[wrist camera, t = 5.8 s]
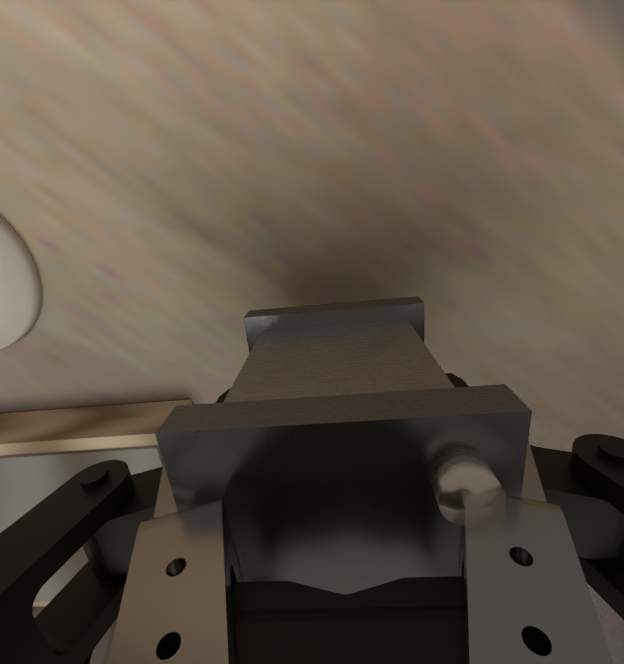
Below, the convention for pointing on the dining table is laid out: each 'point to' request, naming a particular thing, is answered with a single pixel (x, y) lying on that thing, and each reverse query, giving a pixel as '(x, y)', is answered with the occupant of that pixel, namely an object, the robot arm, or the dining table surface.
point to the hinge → (102, 648)
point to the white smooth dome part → (17, 287)
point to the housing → (346, 448)
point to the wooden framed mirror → (71, 458)
